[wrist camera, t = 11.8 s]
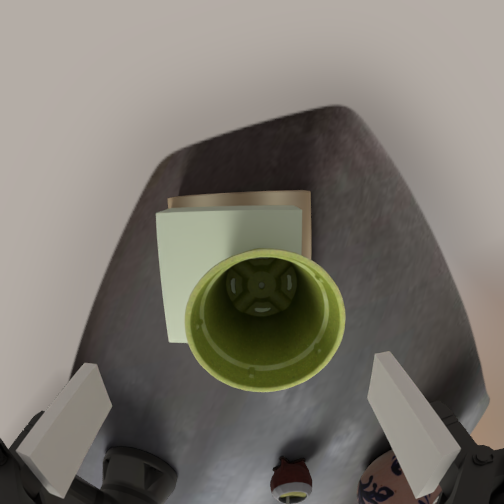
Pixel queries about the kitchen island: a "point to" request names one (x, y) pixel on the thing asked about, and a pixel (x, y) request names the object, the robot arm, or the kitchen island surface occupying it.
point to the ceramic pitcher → (389, 484)
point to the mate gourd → (291, 481)
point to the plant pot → (265, 320)
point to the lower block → (256, 198)
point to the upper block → (215, 247)
